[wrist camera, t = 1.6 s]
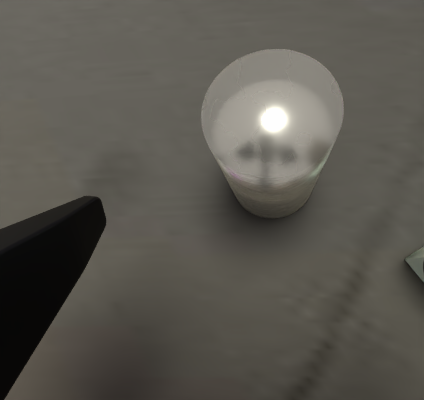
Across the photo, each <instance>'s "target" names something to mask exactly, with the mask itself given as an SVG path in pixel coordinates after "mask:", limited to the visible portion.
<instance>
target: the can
mask: <svg viewBox="0 0 424 400" xmlns="http://www.w3.org/2000/svg"><path fill="white" fill-rule="evenodd" d="M343 112H344V106H343V98H342V94H341V91H340V88H339V86H338V84H337V82H336V80H335V78H334V77H333V76H332V74H331V73H330V72H329V71H328V70H327V69H326V68H325V67H324V66H323V65H322V64H321V63H319V62H318V61H316V60H315V59H313V58H311V57H309V56H307V55H305V54H302V53H300V52H296V51H292V50H284V49H269V50H262V51H258V52H254V53H251V54H248V55H245V56H243V57H241V58H239V59H237V60H236V61H234V62H233V63H231V64H230V65H228V66H227V67H226V68H225V69H224V70H223V71H222V72H221V73H220V74H218V76H217V77H216V78H215V79H214V81H213V82H212V84H211V85H210V87H209V89H208V91H207V93H206V95H205V98H204V101H203V105H202V112H201V122H202V129H203V133H204V137H205V139H206V141H207V144H208V145H209V147H210V149H211V151H212V153H213V155H214V157H215V159H216V161H217V162H218V164H219V166H220V168H221V170H222V172H223V174H224V176H225V177H226V179H227V181H228V183H229V185H230V187H231V189H232V191H233V193H234V194H235V196H236V198H237V200H238V201H239V203H240V204H241V205H242V206H243V207H244V208H245V209H246V210H248V211H249V212H250V213H252V214H254V215H257V216H259V217H263V218H270V219H272V218H282V217H285V216H288V215H291V214H293V213H294V212H296V211H297V210H299V209H300V208H301V207H302V206H303V205H304V204H305V203H306V202H307V200H308V199H309V197H310V195H311V193H312V191H313V189H314V186H315V184H316V182H317V180H318V178H319V175H320V173H321V171H322V169H323V167H324V165H325V162H326V160H327V158H328V156H329V154H330V151H331V149H332V147H333V145H334V143H335V140H336V138H337V136H338V134H339V131H340V128H341V125H342V121H343Z"/></svg>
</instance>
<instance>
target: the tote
mask: <svg viewBox="0 0 424 400" xmlns="http://www.w3.org/2000/svg"><path fill="white" fill-rule="evenodd" d="M405 261H406V262H407V263H408V264H409V265H410V267H411V268H412V269H413V270H414V271H415V273H416V274H417V275H418V276H419V277H420V279H421V280H422V281H423V282H424V272H423V261H424V247H422V248H420V249H419V250H417V251H416V252H414V253H413V254H411V255H410V256H408V257H407V258H405Z"/></svg>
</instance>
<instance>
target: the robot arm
mask: <svg viewBox="0 0 424 400" xmlns="http://www.w3.org/2000/svg"><path fill="white" fill-rule="evenodd" d="M105 226H106V216H105V213H104V209H103V205H102V202H101V200H100V198H98V197H94V196H84V197H81V198H78V199H76V200H73V201H71V202H68V203H66V204H63V205H61V206H58V207H56V208H53V209H51V210H48V211H46V212H43V213H40V214H38V215H35V216H33V217H30V218H28V219H25V220H23V221H20V222H18V223H15V224H13V225H10V226H7V227H5V228H2V229H0V400H4V399H5V397H6V396H7V394H8V393H9V391H10V389H11V388H12V386H13V384H14V383H15V381H16V380H17V378H18V376H19V375H20V373H21V372H22V370H23V368H24V367H25V365H26V363H27V362H28V360H29V359H30V357H31V355H32V354H33V352H34V350H35V349H36V347H37V346H38V344H39V342H40V341H41V339H42V338H43V336H44V334H45V333H46V331H47V329H48V328H49V326H50V325H51V323H52V321H53V320H54V318H55V316H56V315H57V313H58V312H59V310H60V308H61V307H62V305H63V304H64V302H65V300H66V299H67V297H68V295H69V294H70V292H71V291H72V289H73V287H74V286H75V284H76V283H77V281H78V279H79V278H80V276H81V274H82V273H83V271H84V269H85V267H86V266H87V264H88V262H89V260H90V258H91V256H92V253H93V251H94V249H95V247H96V245H97V243H98V241H99V239H100V237H101V235H102V233H103V231H104V228H105ZM423 272H424V261H423Z"/></svg>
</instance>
